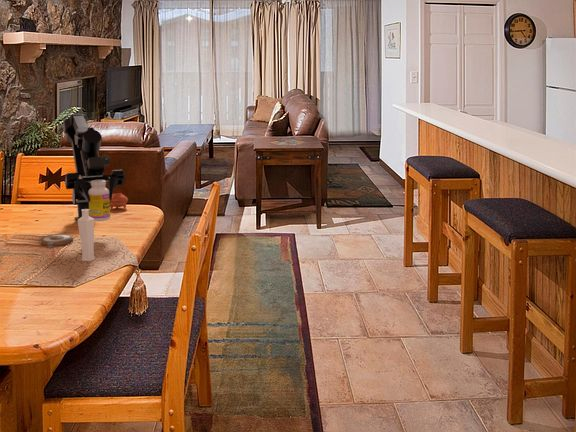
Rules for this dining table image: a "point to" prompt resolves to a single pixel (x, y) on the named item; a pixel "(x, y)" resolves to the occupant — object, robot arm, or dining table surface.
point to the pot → (118, 200)
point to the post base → (56, 240)
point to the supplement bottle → (99, 201)
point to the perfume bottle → (86, 235)
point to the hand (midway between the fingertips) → (100, 200)
